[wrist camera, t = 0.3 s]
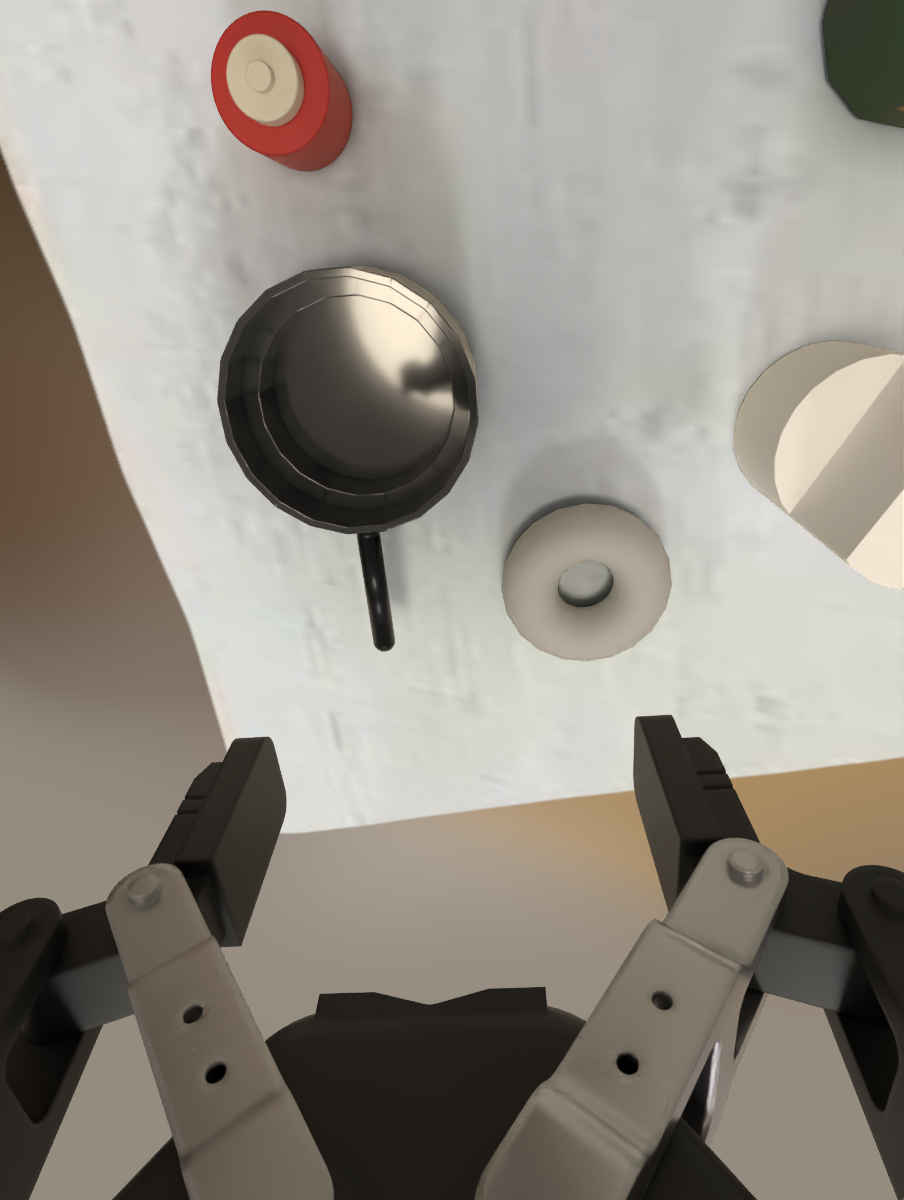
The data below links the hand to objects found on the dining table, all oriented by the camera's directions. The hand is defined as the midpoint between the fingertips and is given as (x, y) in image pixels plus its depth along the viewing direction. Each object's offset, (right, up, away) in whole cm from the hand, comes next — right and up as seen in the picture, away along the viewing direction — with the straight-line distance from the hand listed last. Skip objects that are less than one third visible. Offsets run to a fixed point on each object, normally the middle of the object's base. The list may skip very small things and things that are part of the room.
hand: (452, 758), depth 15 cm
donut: (+8, +5, +28) cm, 30 cm away
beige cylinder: (+20, +13, +24) cm, 34 cm away
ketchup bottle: (-7, +27, +18) cm, 33 cm away
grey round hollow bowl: (-5, +15, +24) cm, 28 cm away
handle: (-4, +4, +23) cm, 24 cm away
